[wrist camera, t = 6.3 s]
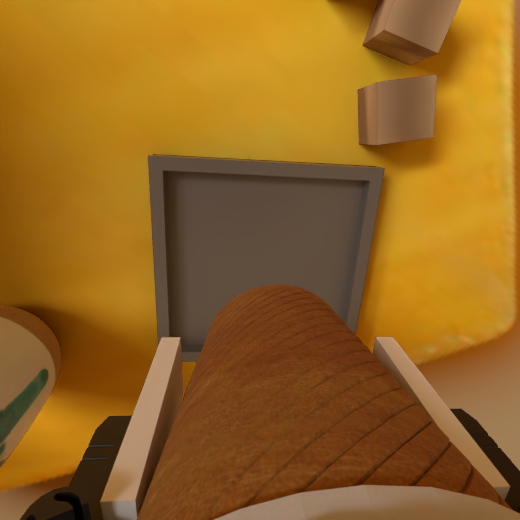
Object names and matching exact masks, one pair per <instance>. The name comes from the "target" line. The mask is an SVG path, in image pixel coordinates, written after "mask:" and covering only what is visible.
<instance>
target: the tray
mask: <svg viewBox="0 0 520 520" xmlns="http://www.w3.org/2000/svg"><path fill="white" fill-rule="evenodd" d="M148 165H149V183H150V202H151V220H152V239H153V257H154V275H155V294H156V312H157V331H158V346H159V343H160V340H161V338H162V337H181V358H182V361H197V360H198V358H199V355H200V353H201V350H202V348H203V345H204V342H205V340H206V337H207V334H208V331H209V328H210V326H211V323H212V321H213V320H214V318H215V317H216V315H217V314H218V312H219V311H220V310H221V309H222V308H223V307H224V306H225V305H226V304H227V303H228V302H230V301H231V300H233V299H234V298H235V297H237V296H238V295H239V294H242V293H244V292H246V291H248V290H251V289H253V288H257V287H262V286H266V285H280V284H282V285H290V286H296V287H299V288H302V289H306V290H308V291H310V292H311V293H313V294H315V295H317V296H319V297H321V298H322V299H323V300H324V301H325V302H326V303H327V304H328V305H330V307H331V308H332V309H333V310H334V312H335V313H336V314H337V315H338V316H339V317H340V318H341V319H342V321H343V322H345V323H346V325H347V326H348V328H349V329H351V330H352V331H353V333H354V334H356V328H357V323H358V317H359V311H360V306H361V300H362V294H363V289H364V283H365V277H366V272H367V266H368V260H369V255H370V249H371V243H372V237H373V232H374V226H375V220H376V215H377V209H378V203H379V198H380V192H381V186H382V181H383V175H384V169H385V168H380V167H376V166H361V165H342V164H323V163H305V162H286V161H268V160H249V159H231V158H212V157H193V156H175V155H156V154H154V155H149V156H148Z"/></svg>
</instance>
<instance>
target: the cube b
mask: <svg viewBox="0 0 520 520" xmlns="http://www.w3.org/2000/svg"><path fill="white" fill-rule="evenodd" d="M460 2H461V0H379V1H378V4H377V7H376V9H375V12H374V15H373V18H372V20H371V23H370V26H369V28H368V31H367V34H366V37H365V39H364V42H363V46H365V47H368V48H370V49H372V50H375V51H377V52H379V53H382V54H384V55H387V56H389V57H391V58H394V59H396V60H398V61H401V62H403V63H405V64H408V65H411V64H413V63H415V62H418V61H420V60H423V59H425V58H428V57H430V56H433V55H435V54H437V53H438V52H439V50H440V48H441V46H442V43H443V41H444V39H445V36H446V34H447V32H448V29H449V27H450V25H451V22H452V20H453V18H454V16H455V13H456V11H457V9H458V6H459V4H460Z"/></svg>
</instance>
